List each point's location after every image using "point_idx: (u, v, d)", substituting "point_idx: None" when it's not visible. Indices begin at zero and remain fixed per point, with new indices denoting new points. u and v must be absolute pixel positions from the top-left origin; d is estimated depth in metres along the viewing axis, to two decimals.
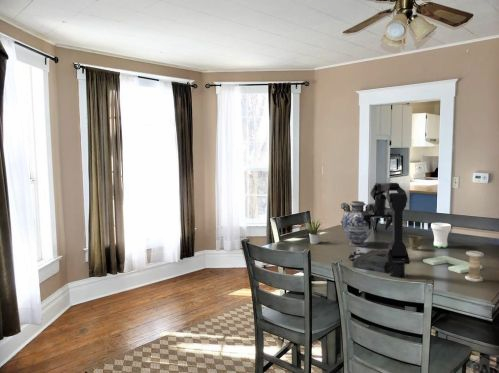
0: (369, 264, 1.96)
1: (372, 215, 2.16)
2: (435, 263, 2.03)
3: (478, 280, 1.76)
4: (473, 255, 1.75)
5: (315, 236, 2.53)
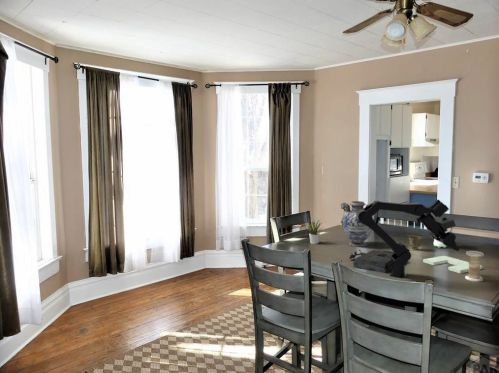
0: (370, 264, 1.95)
1: None
2: (435, 263, 2.03)
3: (478, 280, 1.76)
4: (473, 255, 1.75)
5: (315, 236, 2.53)
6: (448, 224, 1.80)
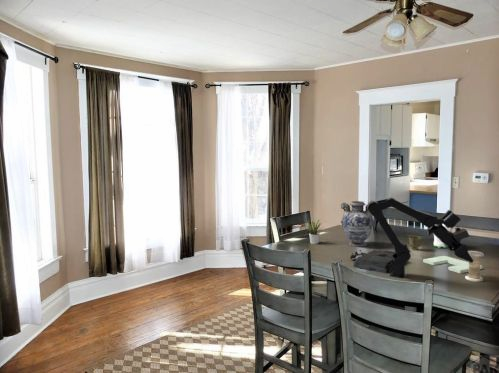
0: (370, 264, 1.95)
1: None
2: (435, 263, 2.03)
3: (478, 280, 1.76)
4: (473, 255, 1.75)
5: (315, 236, 2.53)
6: (461, 235, 1.77)
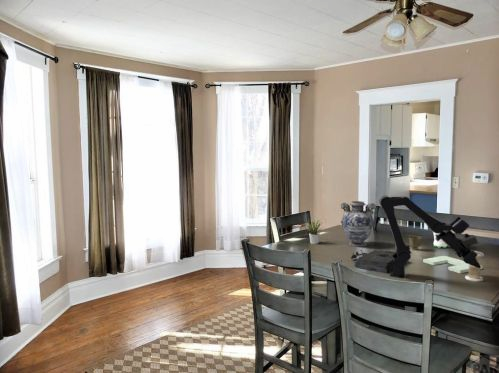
0: (371, 264, 1.95)
1: None
2: (435, 263, 2.03)
3: (478, 280, 1.76)
4: None
5: (315, 236, 2.53)
6: (470, 241, 1.76)
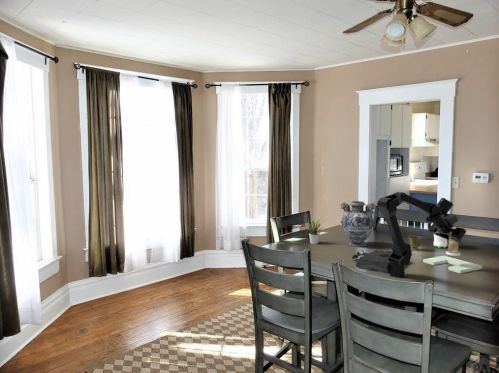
0: (372, 265, 1.95)
1: None
2: (435, 263, 2.03)
3: (459, 254, 1.94)
4: None
5: (315, 236, 2.53)
6: (453, 220, 1.92)
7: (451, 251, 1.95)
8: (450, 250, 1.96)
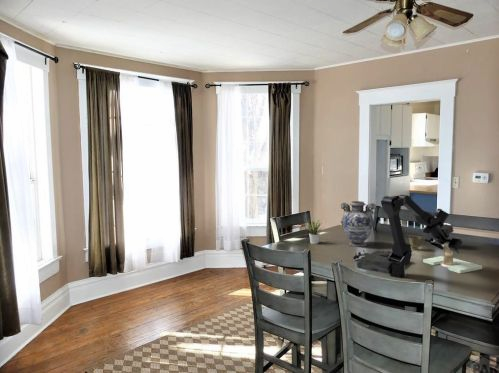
0: (373, 265, 1.95)
1: None
2: (435, 263, 2.03)
3: None
4: None
5: (315, 236, 2.53)
6: (449, 230, 1.95)
7: (446, 263, 1.99)
8: (445, 262, 1.99)
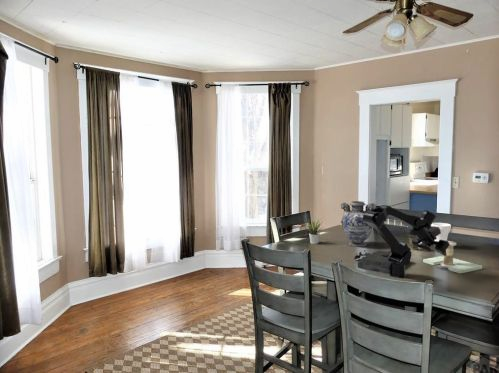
0: (374, 265, 1.94)
1: None
2: (435, 263, 2.03)
3: None
4: (452, 244, 1.96)
5: (315, 236, 2.53)
6: (436, 232, 1.92)
7: (446, 263, 1.99)
8: (445, 262, 1.99)
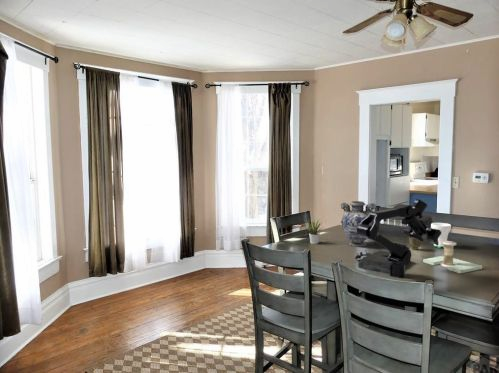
0: (375, 265, 1.94)
1: None
2: (435, 263, 2.03)
3: None
4: (452, 244, 1.96)
5: (315, 236, 2.53)
6: (428, 221, 1.89)
7: (446, 263, 1.99)
8: (445, 262, 1.99)
